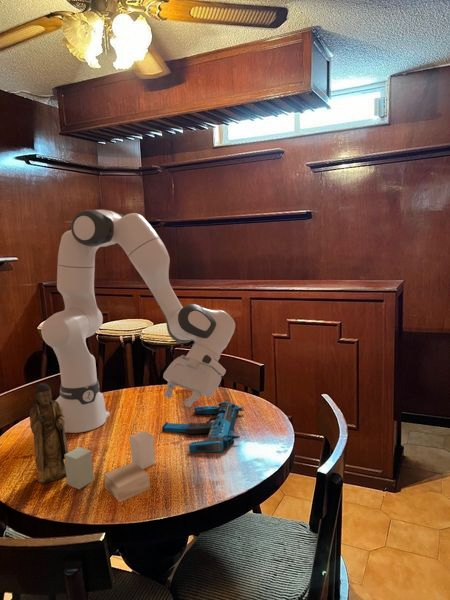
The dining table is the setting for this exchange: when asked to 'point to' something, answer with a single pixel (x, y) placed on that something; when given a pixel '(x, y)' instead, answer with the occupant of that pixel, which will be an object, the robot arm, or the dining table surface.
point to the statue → (48, 435)
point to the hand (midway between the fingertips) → (176, 401)
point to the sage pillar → (79, 467)
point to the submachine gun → (210, 427)
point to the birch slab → (127, 481)
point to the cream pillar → (142, 449)
